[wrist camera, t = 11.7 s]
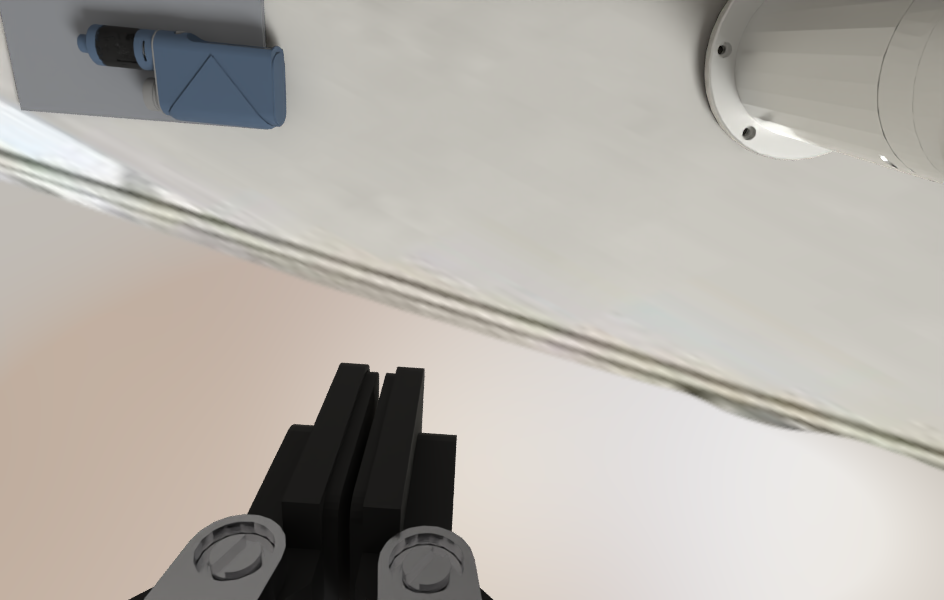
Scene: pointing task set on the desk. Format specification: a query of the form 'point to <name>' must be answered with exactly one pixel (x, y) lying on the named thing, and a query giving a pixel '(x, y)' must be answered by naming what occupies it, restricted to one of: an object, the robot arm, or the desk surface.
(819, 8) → the robot arm
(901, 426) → the desk surface
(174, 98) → the vaping device
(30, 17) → the mat
